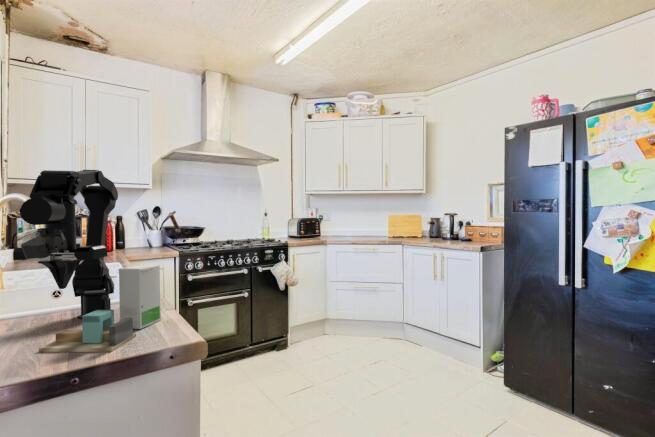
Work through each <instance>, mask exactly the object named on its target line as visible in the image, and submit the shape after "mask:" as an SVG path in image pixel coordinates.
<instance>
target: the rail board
mask: <svg viewBox="0 0 655 437" xmlns="http://www.w3.org/2000/svg"><path fill="white" fill-rule="evenodd" d="M136 337H137V333H136V332H134V329H133V317H130V318H125V319H123V320H121V321H120V320H119V321H118V322H114V324H113V325H111V326H109V330H103V342H101V343H83V334H82V329H63V330H61V331H58V332H56V333H55V340H54V341H53V340H52V342H49V343H47V344H45V345H42V346H41V347H39V348H38V353H44V352H45V353H53V352H55V353H63V352H65V353H66V352H67V353H68V352H70V353H72V352H73V353H74V352H75V353H77V352H78V353H81V352H82V353H85V352H86V353H91V352H93V353H94V352H95V353H97V352H98V353H99V352H101V353H102V352H105V353H107V352H109V353H112V352H114V351H116V349H119V348H120V347H121V346H123V345H125V344H127V343H128V342H130V341H131V340H132V339H133V340H134V338H136Z"/></svg>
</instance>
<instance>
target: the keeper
mask: <svg viewBox="0 0 655 437" xmlns="http://www.w3.org/2000/svg"><path fill="white" fill-rule="evenodd" d="M113 324H115V309H111V310H96V311H93V312H91V313H88V314H86V315H84V316H82V318H81V325H82V327H81V328H82V329H81V330H82V334H83V343H101V342H103V330H109V326H111V325H113Z"/></svg>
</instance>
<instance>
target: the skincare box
mask: <svg viewBox="0 0 655 437" xmlns="http://www.w3.org/2000/svg"><path fill="white" fill-rule="evenodd" d="M160 271H161V270H160V265H159V264H138V265H134V266H133V265H132V266H127V267H121V268H120V267H119V268H118V282H119V283H118V285H119V286H118V287H119V289H118V290H119V292H118V293H119V321H121V320H123V319H125V318H130V317H133V330H141V329H144V328H146V327H149V326H150V325H154V324H156V323H158V322H160V321H161V320H162V318H161V317H162V315H161V309H162V307H161V276H160V275H161V274H160Z"/></svg>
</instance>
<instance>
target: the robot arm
mask: <svg viewBox="0 0 655 437" xmlns="http://www.w3.org/2000/svg"><path fill="white" fill-rule="evenodd" d="M79 193H80V194H81V196H82V198H83V204H84V205H85V206H86V208H87V209H88V211H89V215H88V223H87V230H86V232H87V234H86V240H85V245H84V246H81V243H77V232H80V231H81V228H80V226H77V221H76V217H77V216H76V205H78V201H77V199H76V198H75V197H76V196H77V195H78V194H79ZM118 198H119V193H118V190H117V187H116V186H115V183H114V182H113V181H112V180H110V179H109V178H107V177H106V176H105V175H104V173H103V171H102V170H99V169H82V170H80V171H79V170H78V171H75V170H50V169H49V170H45V169H44V170H41V171H40V173H39V175H38V176H37V177H36V180H35V182H34V184H33V187H32V189H31V192H30V193H29V198H28V199H26V200H25V201H24V202H23V203H22V204H21V206H20V208H19V216H20V217H21V219H22V220H23V221H24V222H25V223H27V224H30V225H33V226H39V225H40V226H43V225H44V227H43V228H42V227H41V228H40V230H39V236H36V237H33V238H31V239H29V240H27V241H25V242H23V243H21V244H20V247H16V248H15V249H14V251H13V252H12V260H13V261H26V260H28V259H29V260H30V259H32V258H36V259H39V260H38V261H37V263H38V264H39V265H40V264H42V265H43V266H45V267H46V268H47V269H48V270H49V272H50V274H52V276H53V279H54V281H55V283H56V285H57V287H58V289H59V290H64V289H66V288H67V286H68V285H69V283H70V280H71V278H72V283H71V284H72V290H73V294H74V297H75V298H77V297H80V314H79V315H77V316H76V318H77V319H82V316H84V315H86V314H88V313H91V312H93V311H96V310H112V306H111V298H110V295H111V294H115V283H114V282H113V281H114V280H112V277H111V275H110V269H109V268H108V266H107V264H106V263H105V261H104V258H106V257H108V249H107V247H106V240H107V231H108V230H107V229H108V222H109V221H108V220H109V214H110V213H111V212H112V211H113V210H114V209H115V207H116V202H117V201H118Z"/></svg>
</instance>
